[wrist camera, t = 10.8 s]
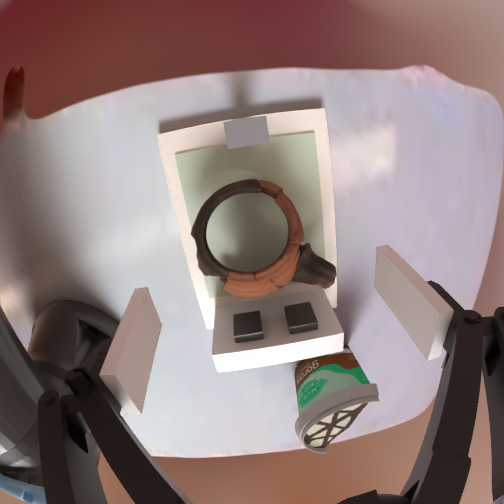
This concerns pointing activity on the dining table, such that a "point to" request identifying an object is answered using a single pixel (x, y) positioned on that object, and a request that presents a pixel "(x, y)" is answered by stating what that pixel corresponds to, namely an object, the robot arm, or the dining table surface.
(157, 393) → the dining table surface
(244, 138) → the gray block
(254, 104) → the dining table surface
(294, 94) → the dining table surface
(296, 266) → the pottery mug
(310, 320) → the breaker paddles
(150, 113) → the dining table surface
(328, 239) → the stand
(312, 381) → the food container
